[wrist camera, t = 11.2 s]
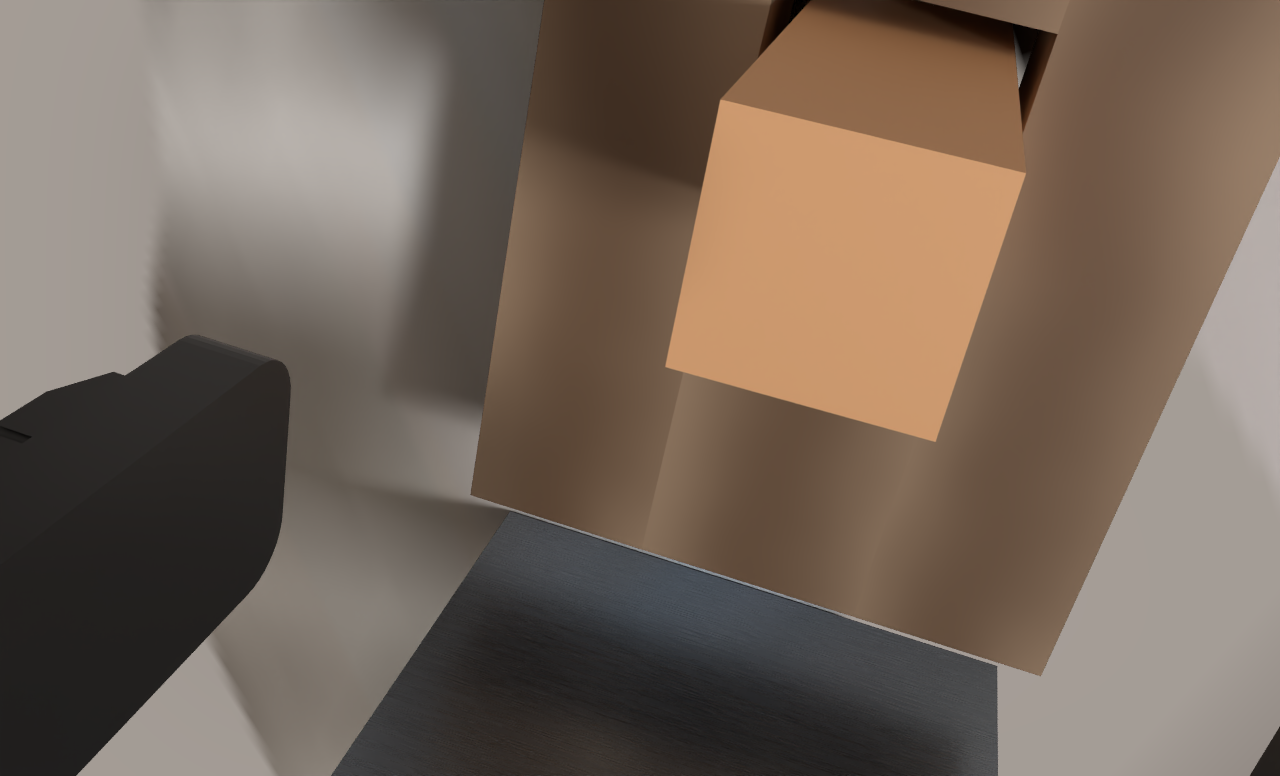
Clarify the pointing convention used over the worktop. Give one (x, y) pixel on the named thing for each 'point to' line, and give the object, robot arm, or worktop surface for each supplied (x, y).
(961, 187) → the peg
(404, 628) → the worktop surface
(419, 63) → the worktop surface
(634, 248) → the socket block
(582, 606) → the thin grey panel
